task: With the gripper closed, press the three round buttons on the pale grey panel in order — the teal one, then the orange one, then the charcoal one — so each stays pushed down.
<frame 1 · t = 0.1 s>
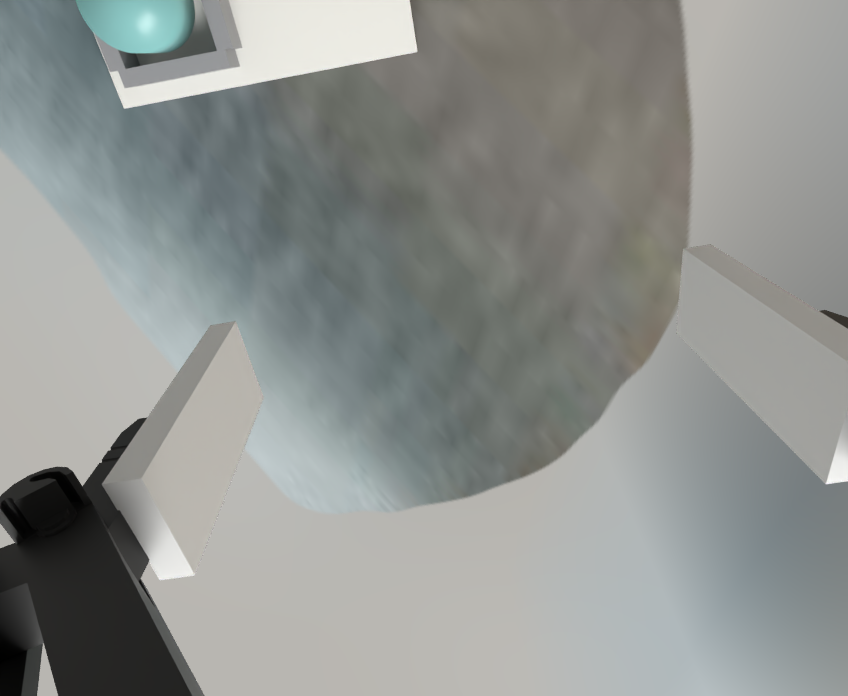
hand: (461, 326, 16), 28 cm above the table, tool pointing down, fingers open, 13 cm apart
teal button: (137, 1, 30), point 6 cm above the table, slide at 0.0 cm
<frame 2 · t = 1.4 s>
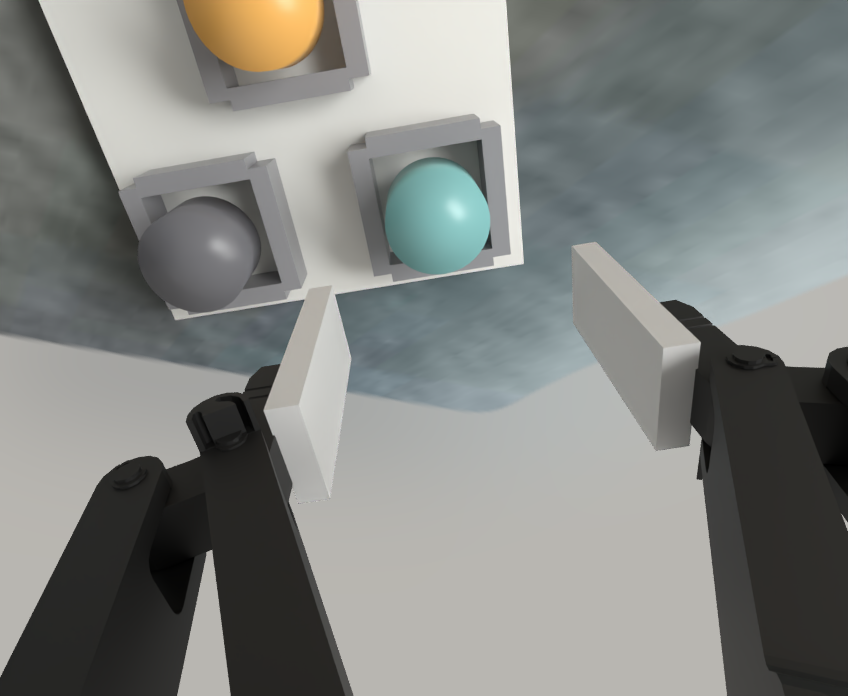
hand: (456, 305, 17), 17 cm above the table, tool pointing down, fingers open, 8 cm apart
teal button: (435, 215, 27), point 6 cm above the table, slide at 0.0 cm
panel: (310, 116, 30), on the table
charcoal button: (203, 253, 27), point 6 cm above the table, slide at 0.0 cm
orange button: (258, 2, 22), point 6 cm above the table, slide at 0.0 cm
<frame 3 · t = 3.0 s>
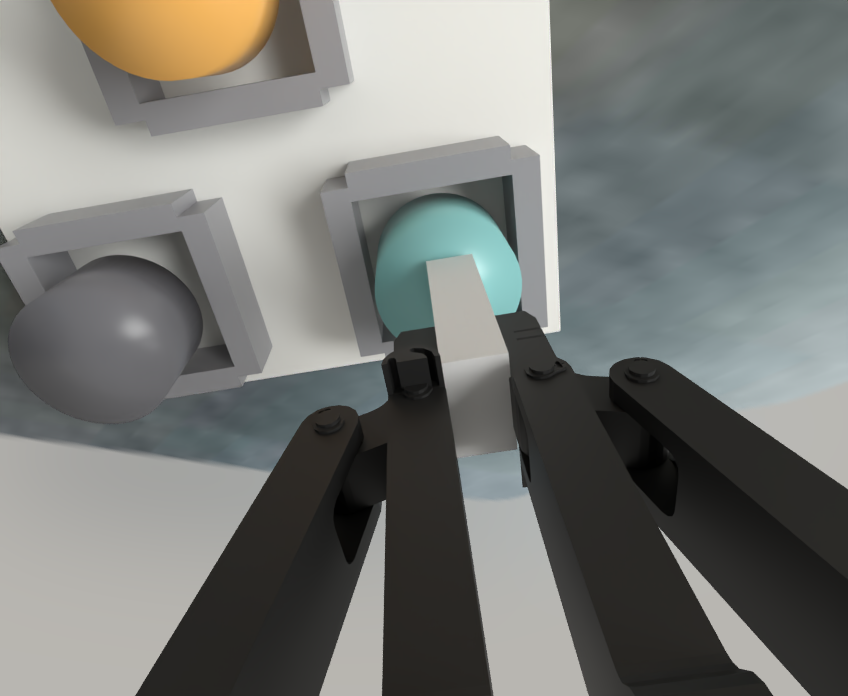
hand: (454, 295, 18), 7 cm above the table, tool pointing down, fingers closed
teal button: (444, 272, 20), point 5 cm above the table, slide at -1.0 cm, touching gripper
panel: (272, 138, 22), on the table
charcoal button: (115, 337, 19), point 6 cm above the table, slide at 0.0 cm
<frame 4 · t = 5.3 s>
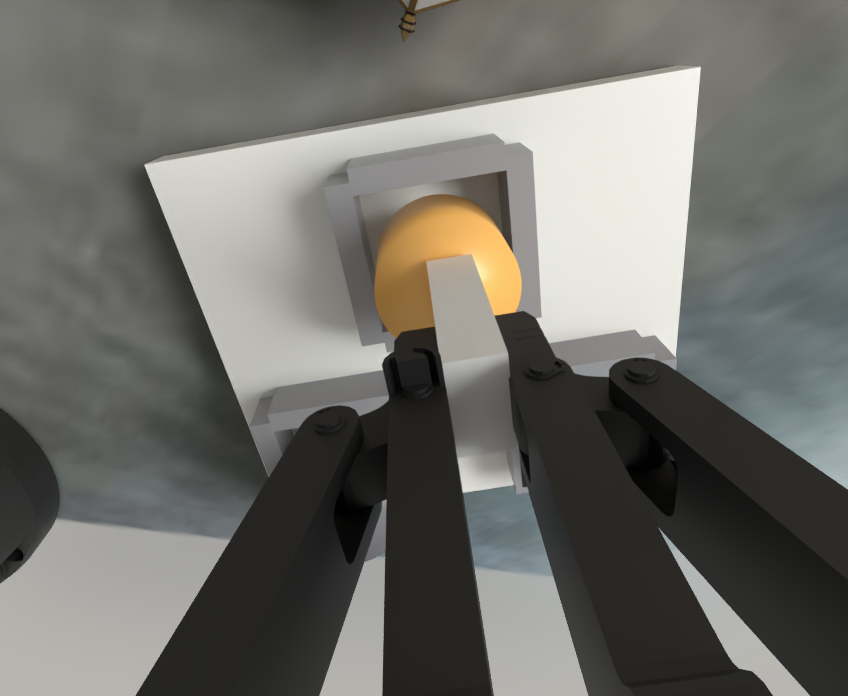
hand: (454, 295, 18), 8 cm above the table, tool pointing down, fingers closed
panel: (447, 320, 27), on the table
charcoal button: (345, 496, 25), point 6 cm above the table, slide at 0.0 cm
orange button: (444, 274, 20), point 6 cm above the table, slide at 0.0 cm, touching gripper
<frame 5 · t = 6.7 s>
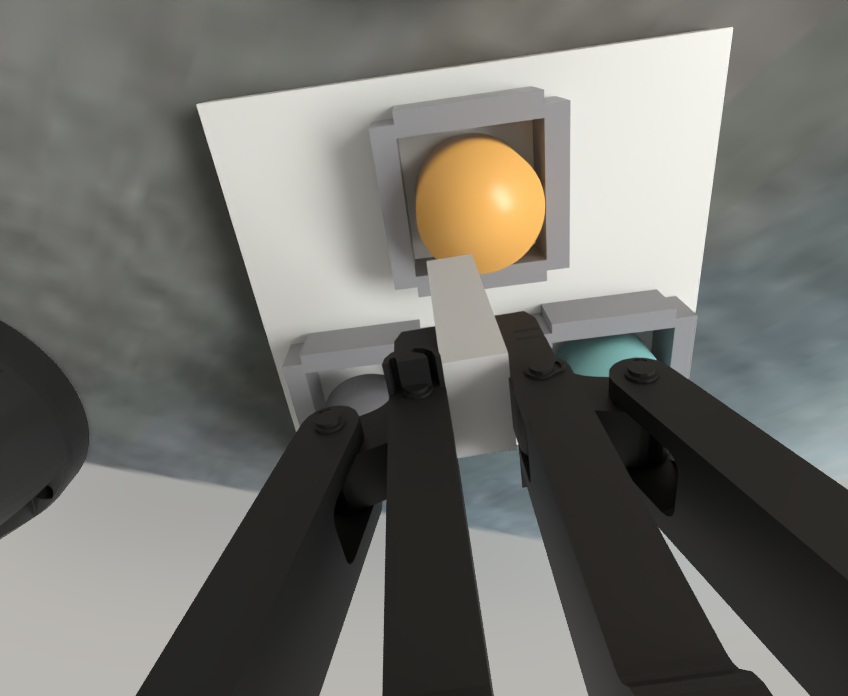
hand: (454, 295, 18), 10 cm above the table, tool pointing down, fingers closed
teal button: (610, 385, 27), point 4 cm above the table, slide at -1.9 cm
panel: (474, 276, 28), on the table
charcoal button: (371, 437, 26), point 6 cm above the table, slide at 0.0 cm
orange button: (475, 202, 22), point 4 cm above the table, slide at -1.9 cm
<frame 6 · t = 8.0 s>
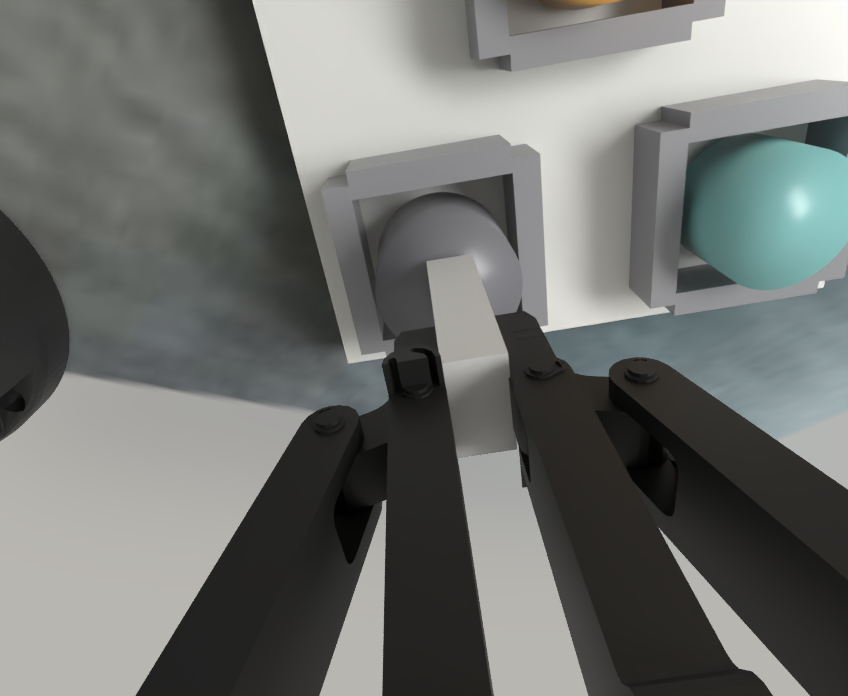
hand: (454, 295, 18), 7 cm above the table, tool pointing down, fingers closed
teal button: (758, 210, 20), point 4 cm above the table, slide at -1.9 cm
panel: (564, 85, 22), on the table
charcoal button: (445, 272, 20), point 5 cm above the table, slide at -0.9 cm, touching gripper
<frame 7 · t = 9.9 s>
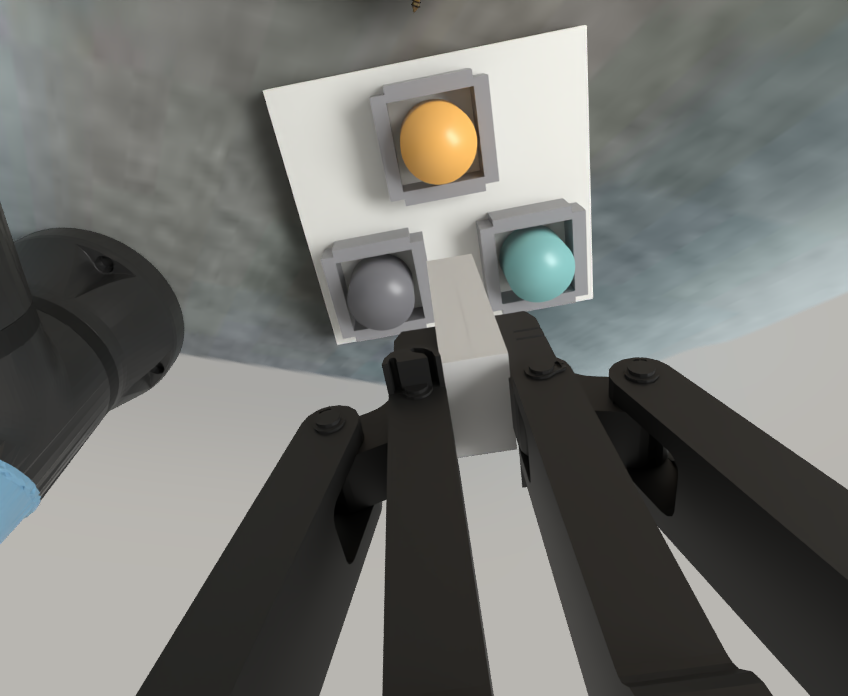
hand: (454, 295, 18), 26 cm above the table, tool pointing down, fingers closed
teal button: (535, 263, 41), point 4 cm above the table, slide at -1.9 cm
panel: (443, 199, 42), on the table
charcoal button: (381, 291, 41), point 4 cm above the table, slide at -1.9 cm
orange button: (436, 141, 36), point 4 cm above the table, slide at -1.9 cm
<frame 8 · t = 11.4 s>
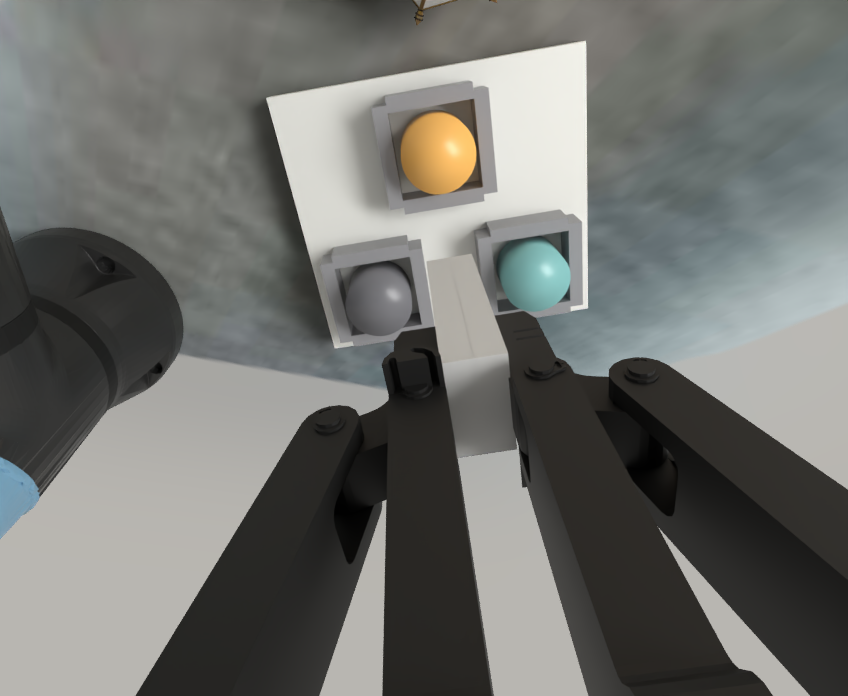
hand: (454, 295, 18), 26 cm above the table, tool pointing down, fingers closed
teal button: (531, 272, 41), point 4 cm above the table, slide at -1.9 cm
panel: (442, 207, 43), on the table
charcoal button: (379, 297, 42), point 4 cm above the table, slide at -1.9 cm
orange button: (436, 151, 37), point 4 cm above the table, slide at -1.9 cm
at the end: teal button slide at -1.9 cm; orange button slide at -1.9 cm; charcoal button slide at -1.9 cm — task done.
